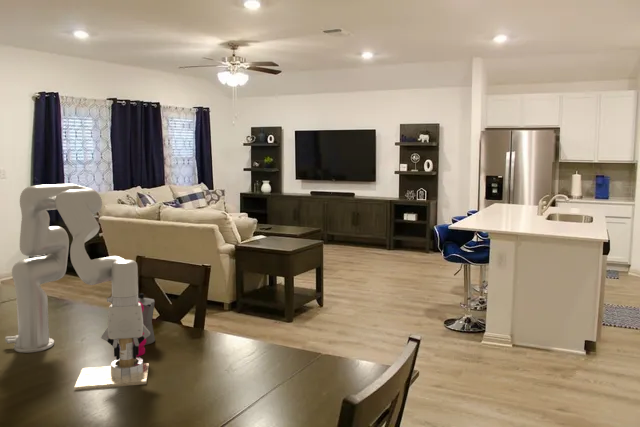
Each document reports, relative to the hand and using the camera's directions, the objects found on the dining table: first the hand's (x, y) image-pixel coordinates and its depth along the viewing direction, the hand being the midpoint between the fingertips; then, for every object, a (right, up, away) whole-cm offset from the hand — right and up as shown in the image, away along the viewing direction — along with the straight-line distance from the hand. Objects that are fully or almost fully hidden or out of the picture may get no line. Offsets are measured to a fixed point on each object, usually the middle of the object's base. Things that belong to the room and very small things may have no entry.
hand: (126, 357), depth 168 cm
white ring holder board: (-4, -6, 0) cm, 7 cm away
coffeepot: (-6, -2, +32) cm, 33 cm away
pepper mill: (-4, -4, +19) cm, 20 cm away
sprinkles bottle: (0, -4, 0) cm, 4 cm away
